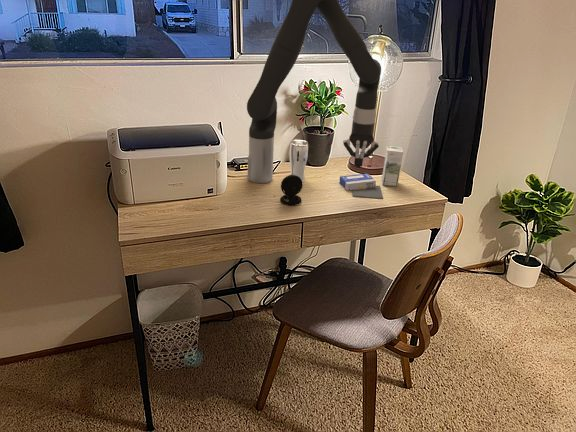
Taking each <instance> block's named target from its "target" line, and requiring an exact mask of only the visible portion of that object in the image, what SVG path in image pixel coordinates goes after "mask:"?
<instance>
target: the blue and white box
mask: <svg viewBox="0 0 576 432" xmlns="http://www.w3.org/2000/svg"><path fill="white" fill-rule="evenodd" d="M338 183H339V184H340V185H341V186H342V187H343V188H344V189H345V190H346V191H347V192H348V191H352V190H355V189H366V188H374V187H376V186H377V184H376V183H377V180H375V178H374V177H372V176H371V175H370V174H369V173H359V174H349V175H340V176H339V182H338Z"/></svg>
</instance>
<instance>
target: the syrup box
mask: <svg viewBox="0 0 576 432" xmlns="http://www.w3.org/2000/svg"><path fill="white" fill-rule="evenodd" d="M403 155H404V151H403V148H402V146H391V145H387V146H386V149H385V155H384V161H383V168H382V174H381V185H382V186H385V187H386V186H387V187H398V184H399V179H400V172H401V169H402V162H403Z"/></svg>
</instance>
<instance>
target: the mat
mask: <svg viewBox="0 0 576 432" xmlns="http://www.w3.org/2000/svg"><path fill="white" fill-rule="evenodd" d="M351 193H352V195H351V196H352V198H353V197H354V198H365V199H366V198H367V199H378V200H381V199H382V200H383V199H384V196H383V192H382V188H381V185H376V187H374V188H366V189H355V190H351Z"/></svg>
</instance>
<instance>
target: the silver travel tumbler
mask: <svg viewBox="0 0 576 432" xmlns="http://www.w3.org/2000/svg"><path fill="white" fill-rule="evenodd" d="M308 155H309V143H308V141H306V140H303V139H294V140H290V146H289V165H290V173H289V175H296V176H298V177H300V179H301V180H302V183H304V182H305V180H306V179H305V178H306V177H305V169H306V166H307V161H308V158H309V157H308Z"/></svg>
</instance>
